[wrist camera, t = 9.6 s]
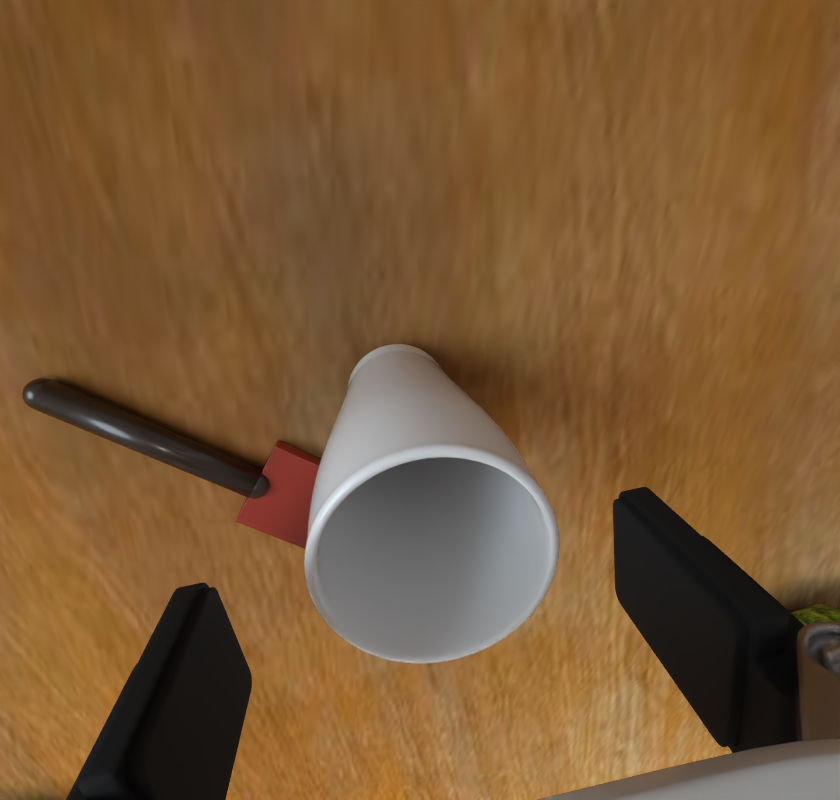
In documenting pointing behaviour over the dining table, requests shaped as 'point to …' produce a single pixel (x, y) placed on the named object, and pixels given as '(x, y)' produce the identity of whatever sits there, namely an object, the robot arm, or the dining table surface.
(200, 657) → the robot arm
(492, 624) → the drinking glass
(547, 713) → the dining table surface
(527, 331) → the dining table surface
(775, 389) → the dining table surface
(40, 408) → the spatula
